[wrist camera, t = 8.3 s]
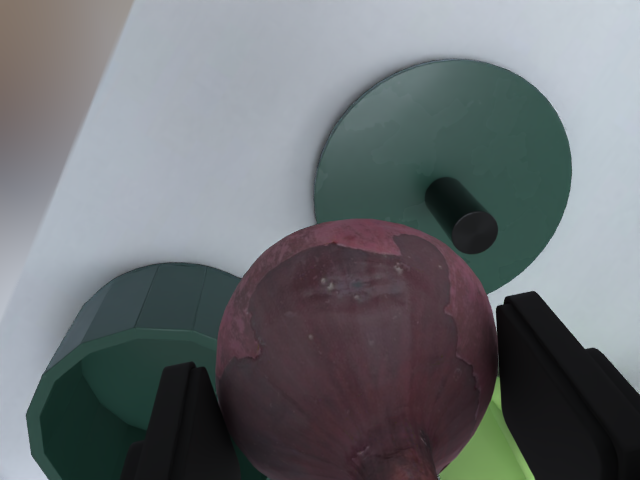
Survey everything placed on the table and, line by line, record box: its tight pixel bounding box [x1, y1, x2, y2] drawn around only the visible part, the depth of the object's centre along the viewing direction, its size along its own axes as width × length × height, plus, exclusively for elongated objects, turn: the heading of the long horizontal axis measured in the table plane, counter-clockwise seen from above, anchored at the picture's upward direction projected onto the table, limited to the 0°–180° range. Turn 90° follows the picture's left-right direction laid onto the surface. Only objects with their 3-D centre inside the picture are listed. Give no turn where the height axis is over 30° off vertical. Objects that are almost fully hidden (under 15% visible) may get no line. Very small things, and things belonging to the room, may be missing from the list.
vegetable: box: [215, 219, 498, 480], centre depth 11 cm, size 6×6×10 cm
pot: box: [26, 263, 271, 480], centre depth 34 cm, size 14×14×7 cm
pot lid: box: [314, 59, 572, 295], centre depth 31 cm, size 15×15×7 cm
